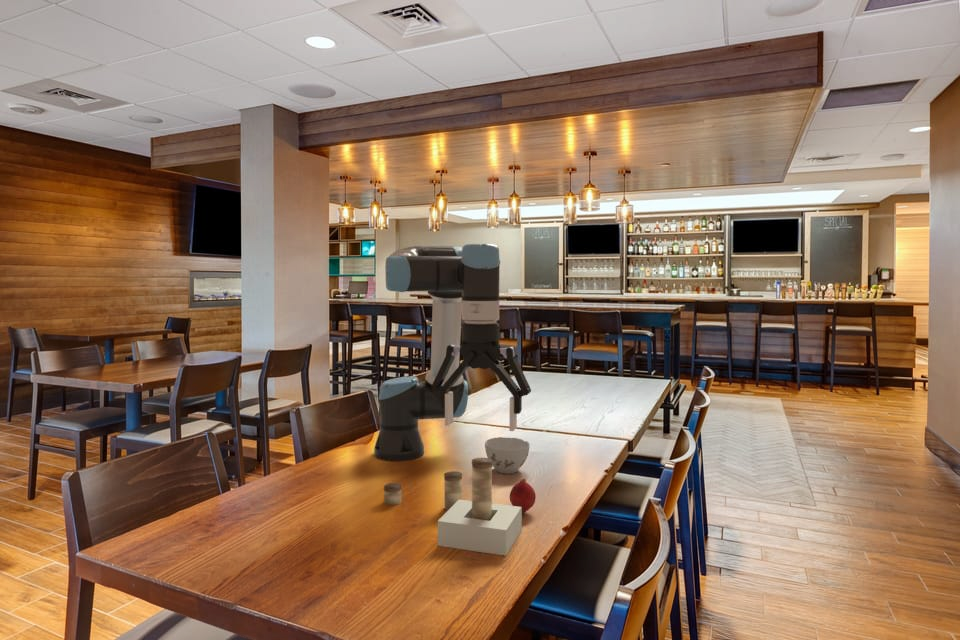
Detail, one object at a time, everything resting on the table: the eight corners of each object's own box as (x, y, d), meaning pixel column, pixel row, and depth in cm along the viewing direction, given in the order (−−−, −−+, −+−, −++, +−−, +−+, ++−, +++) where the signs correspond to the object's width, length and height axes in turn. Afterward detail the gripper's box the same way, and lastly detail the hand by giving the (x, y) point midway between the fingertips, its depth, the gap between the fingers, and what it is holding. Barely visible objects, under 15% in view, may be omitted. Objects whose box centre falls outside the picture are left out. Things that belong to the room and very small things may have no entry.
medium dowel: (441, 510, 130) (441, 475, 130) (448, 503, 134) (448, 470, 134) (458, 512, 129) (458, 477, 128) (464, 505, 133) (464, 472, 132)
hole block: (438, 545, 112) (437, 520, 112) (459, 521, 123) (458, 499, 123) (506, 555, 108) (506, 530, 107) (521, 530, 119) (521, 506, 119)
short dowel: (381, 504, 134) (380, 487, 134) (389, 498, 138) (388, 482, 137) (396, 506, 132) (396, 489, 132) (404, 500, 136) (404, 483, 136)
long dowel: (468, 540, 114) (469, 462, 113) (475, 532, 118) (475, 456, 117) (488, 543, 113) (488, 464, 112) (494, 535, 117) (494, 458, 116)
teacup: (516, 481, 150) (516, 451, 149) (476, 473, 156) (475, 444, 156) (541, 466, 162) (541, 438, 162) (502, 459, 169) (502, 432, 168)
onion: (528, 520, 124) (528, 484, 124) (505, 514, 127) (505, 479, 127) (539, 511, 129) (539, 476, 129) (517, 506, 132) (517, 472, 132)
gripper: (415, 321, 113) (416, 426, 115) (537, 324, 106) (537, 436, 107) (430, 319, 121) (430, 417, 122) (545, 322, 113) (545, 427, 114)
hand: (480, 426), depth 115 cm, fingers open, 13 cm apart
